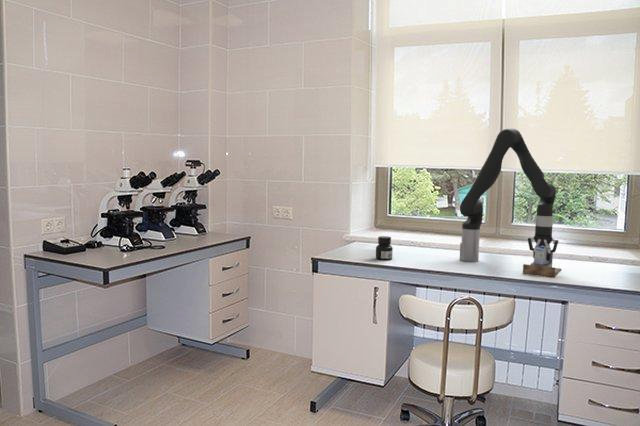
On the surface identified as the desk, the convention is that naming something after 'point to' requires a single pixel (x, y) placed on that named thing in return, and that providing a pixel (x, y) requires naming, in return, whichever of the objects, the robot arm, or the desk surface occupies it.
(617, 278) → the desk surface
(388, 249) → the ink bottle
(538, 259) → the medicine box
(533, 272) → the backstop
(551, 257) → the grey open lidded box
